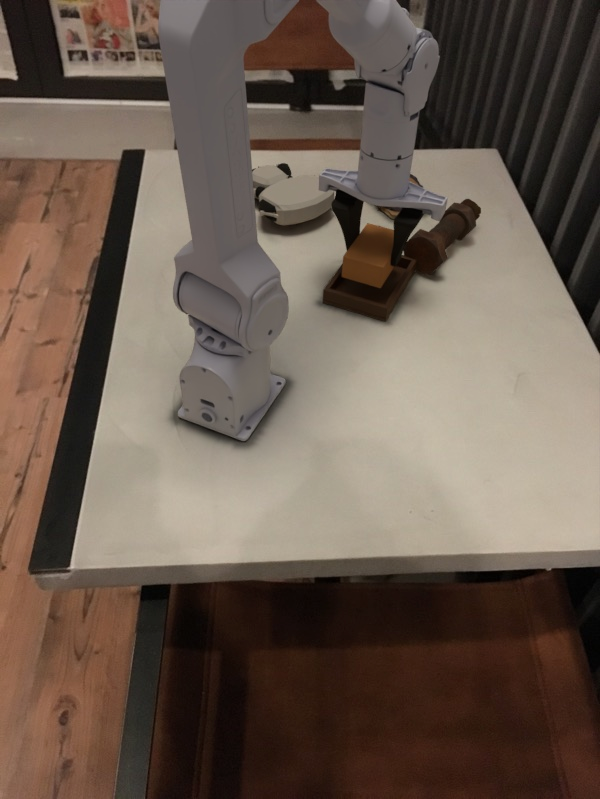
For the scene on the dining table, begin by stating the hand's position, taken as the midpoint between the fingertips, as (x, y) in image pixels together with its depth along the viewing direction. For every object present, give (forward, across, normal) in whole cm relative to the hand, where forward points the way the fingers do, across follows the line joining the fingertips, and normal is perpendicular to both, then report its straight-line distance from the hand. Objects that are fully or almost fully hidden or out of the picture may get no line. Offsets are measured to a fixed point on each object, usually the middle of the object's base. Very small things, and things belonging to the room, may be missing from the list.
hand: (374, 255), depth 82 cm
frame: (+5, 0, 0) cm, 5 cm away
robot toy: (+5, +18, -12) cm, 22 cm away
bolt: (+4, -6, -12) cm, 15 cm away
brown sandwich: (+5, +4, -22) cm, 23 cm away
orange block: (+1, 0, 0) cm, 1 cm away
